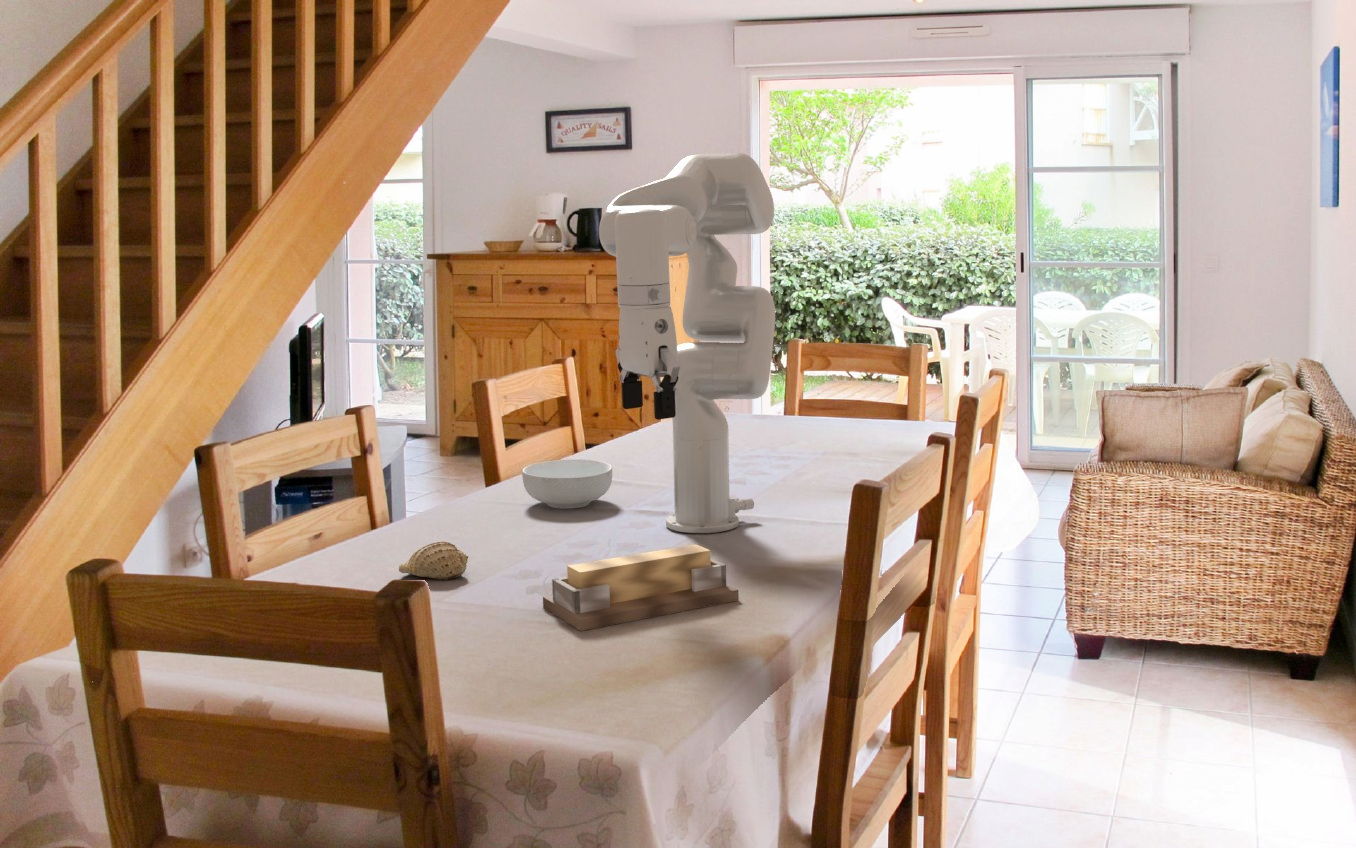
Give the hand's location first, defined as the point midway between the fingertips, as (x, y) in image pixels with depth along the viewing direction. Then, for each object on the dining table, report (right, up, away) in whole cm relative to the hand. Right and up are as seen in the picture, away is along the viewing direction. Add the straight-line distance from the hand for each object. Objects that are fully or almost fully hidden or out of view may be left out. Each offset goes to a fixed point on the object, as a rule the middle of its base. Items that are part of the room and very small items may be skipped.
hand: (648, 412), depth 182 cm
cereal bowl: (-16, -17, +52) cm, 57 cm away
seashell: (-32, -25, +5) cm, 41 cm away
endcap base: (-1, -26, -11) cm, 29 cm away
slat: (-1, -25, -12) cm, 27 cm away
